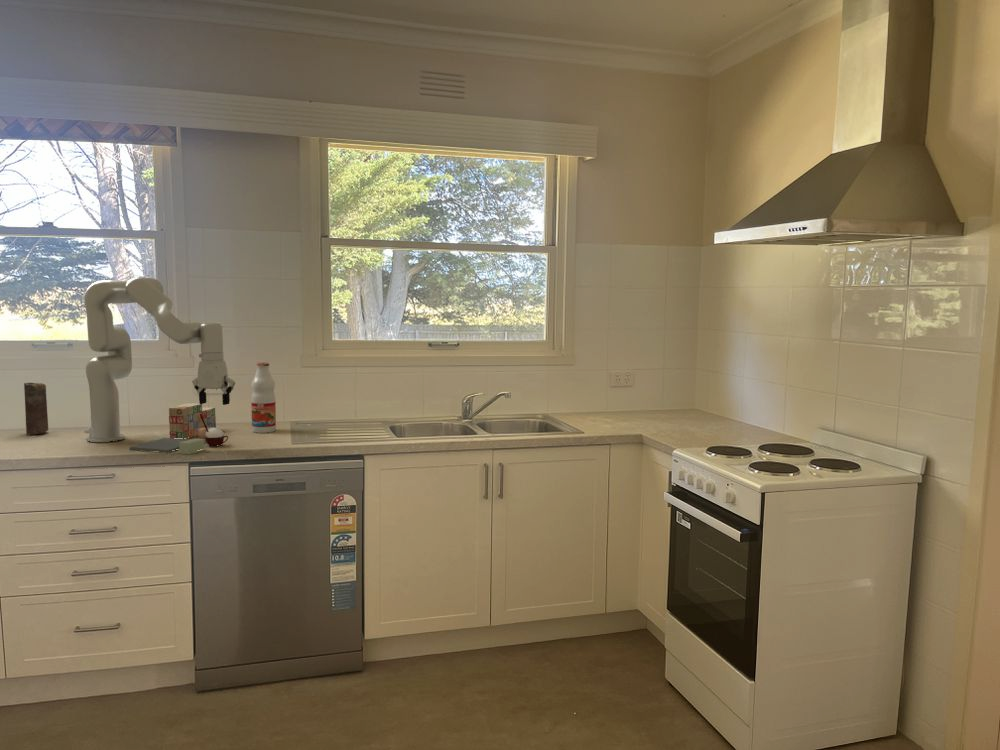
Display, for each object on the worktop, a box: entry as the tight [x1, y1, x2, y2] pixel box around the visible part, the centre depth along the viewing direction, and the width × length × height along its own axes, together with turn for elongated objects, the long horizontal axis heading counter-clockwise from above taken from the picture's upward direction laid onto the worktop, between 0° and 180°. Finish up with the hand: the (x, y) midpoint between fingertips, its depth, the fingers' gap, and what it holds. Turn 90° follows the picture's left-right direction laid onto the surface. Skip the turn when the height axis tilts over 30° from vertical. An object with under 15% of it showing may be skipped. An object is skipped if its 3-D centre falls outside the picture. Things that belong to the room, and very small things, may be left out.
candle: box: [23, 382, 49, 436], centre depth 284 cm, size 8×7×20 cm
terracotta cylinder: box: [198, 427, 212, 441], centre depth 277 cm, size 5×5×5 cm
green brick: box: [178, 437, 206, 455], centre depth 259 cm, size 4×8×4 cm, turn 161°
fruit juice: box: [250, 362, 277, 434], centre depth 297 cm, size 9×9×28 cm
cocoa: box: [200, 414, 229, 447], centre depth 268 cm, size 10×6×12 cm, turn 97°
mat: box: [128, 437, 188, 454], centre depth 266 cm, size 16×18×1 cm
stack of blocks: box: [168, 402, 217, 439], centre depth 289 cm, size 21×6×12 cm, turn 169°
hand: (214, 403), depth 267 cm, fingers open, 9 cm apart
